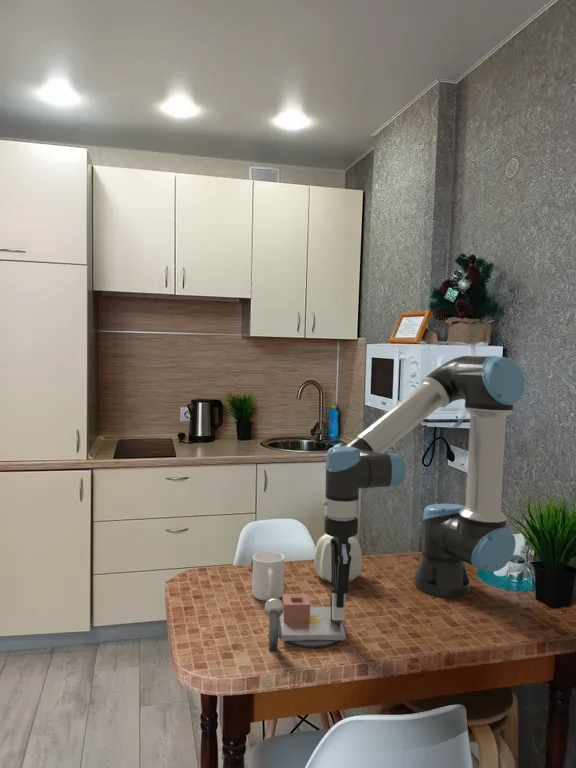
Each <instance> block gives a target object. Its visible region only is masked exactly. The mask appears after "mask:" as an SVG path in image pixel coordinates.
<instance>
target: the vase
mask: <svg viewBox="0 0 576 768" xmlns="http://www.w3.org/2000/svg"><path fill="white" fill-rule="evenodd" d="M331 538H333V537H332V536H329V535H327V534H326V533H324V534H323V535H322V536H320V537H319V539H318V540H317V542H316V544H315V545H316V546H315V551H314V555H313V556H314V558H313V559H314V560H313V562H314V567H313V568H314V572H315V573H316V574H317V575H318V577H319V578H320V579H321V580H323V581H328V582H329V583H331V584H333V582H331V542H330V540H331ZM348 542H349V543H350V544H351V551H350V553H349V555H351V558H352V559H351V563H350V571H349V583H351V582H352V581H354V580H355V579H356V578H357V577H358V576H359V574H360V573H361V572H362V569H363V554H362V548H361V544H360V542H359V541H358V540H357V538H356V537H355V536H353V537H350V538H348Z"/></svg>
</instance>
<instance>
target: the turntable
mask: <svg viewBox="0 0 576 768" xmlns="http://www.w3.org/2000/svg"><path fill="white" fill-rule="evenodd" d="M332 599H333V596H332V597H329V606H310V622H284V620H283V613H282V614H281V616H279V619H280V627H281V635H282V640H281V641H283V642H284V641H301V640H341V641H346V639H347V638H346V637H347V635H346V630H345V631H344V628H343V625H342V623H343V622H342V620H333V619H332ZM341 622H342V623H341Z"/></svg>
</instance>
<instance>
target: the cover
mask: <svg viewBox="0 0 576 768" xmlns="http://www.w3.org/2000/svg"><path fill="white" fill-rule="evenodd" d="M281 599H282V600H281V602H282V604H283V620H284V622H310V607H311V602H310V599H309V595H308V593H283V594H282V597H281Z"/></svg>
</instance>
